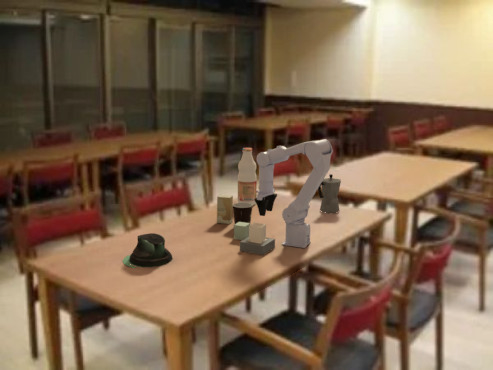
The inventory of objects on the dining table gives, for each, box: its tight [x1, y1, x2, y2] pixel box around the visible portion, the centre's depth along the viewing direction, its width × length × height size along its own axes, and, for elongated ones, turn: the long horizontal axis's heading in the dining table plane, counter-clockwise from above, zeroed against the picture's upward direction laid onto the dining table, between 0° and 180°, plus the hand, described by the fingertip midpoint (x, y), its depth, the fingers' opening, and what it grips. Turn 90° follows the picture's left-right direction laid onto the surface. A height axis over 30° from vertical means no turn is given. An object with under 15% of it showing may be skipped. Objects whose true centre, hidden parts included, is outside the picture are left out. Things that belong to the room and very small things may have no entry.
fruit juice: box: [237, 147, 258, 206], centre depth 290 cm, size 9×9×28 cm
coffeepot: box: [317, 174, 342, 214], centre depth 278 cm, size 15×9×18 cm, turn 129°
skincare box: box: [216, 194, 234, 225], centre depth 260 cm, size 6×4×12 cm
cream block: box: [249, 222, 267, 243], centre depth 225 cm, size 5×5×6 cm
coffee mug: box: [232, 202, 254, 225], centre depth 252 cm, size 12×9×10 cm
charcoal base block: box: [239, 236, 276, 256], centre depth 227 cm, size 10×10×4 cm
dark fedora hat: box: [122, 232, 173, 270], centre depth 214 cm, size 20×20×9 cm
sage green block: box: [233, 222, 251, 241], centre depth 240 cm, size 5×5×6 cm
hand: (265, 213), depth 240 cm, fingers open, 7 cm apart
